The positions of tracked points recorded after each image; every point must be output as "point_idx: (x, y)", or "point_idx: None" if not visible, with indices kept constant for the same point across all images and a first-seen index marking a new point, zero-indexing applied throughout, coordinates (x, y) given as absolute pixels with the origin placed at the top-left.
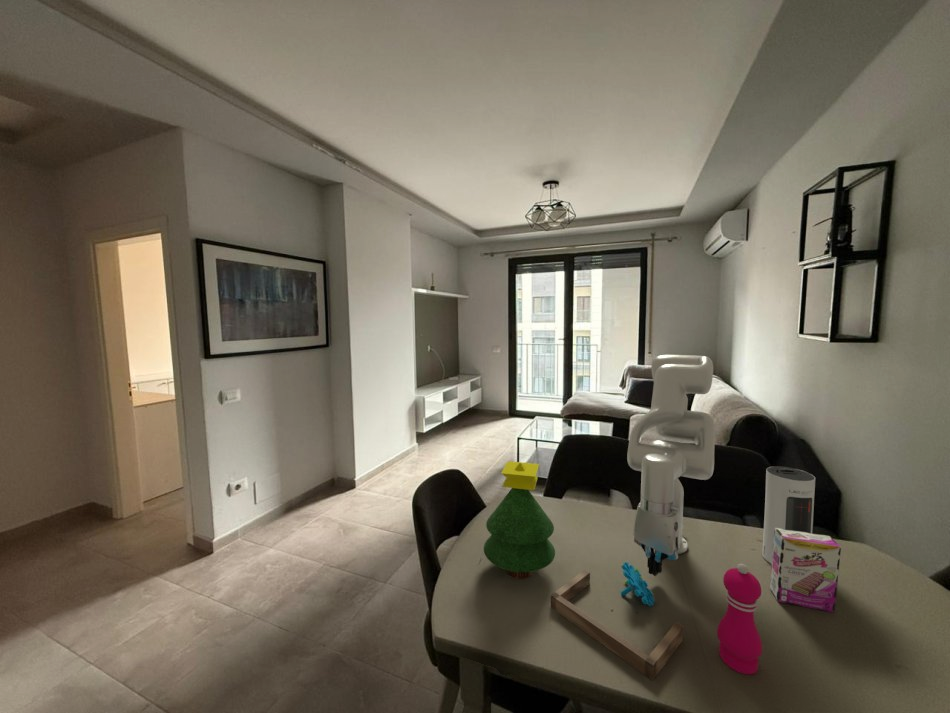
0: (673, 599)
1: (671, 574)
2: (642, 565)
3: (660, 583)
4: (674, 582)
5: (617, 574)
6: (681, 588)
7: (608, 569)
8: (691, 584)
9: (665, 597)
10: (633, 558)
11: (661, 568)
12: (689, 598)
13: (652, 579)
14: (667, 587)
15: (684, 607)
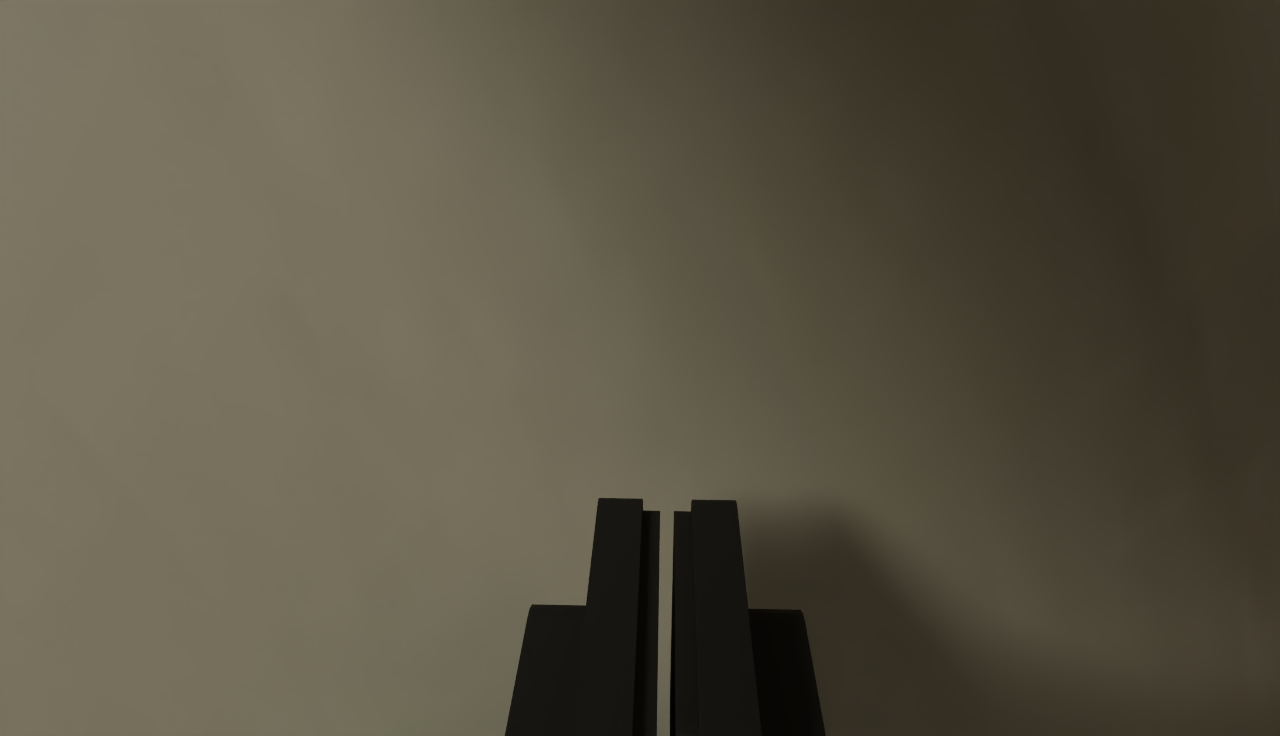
0: (1032, 618)
1: (812, 3)
2: (268, 176)
3: (753, 427)
4: (936, 220)
5: (194, 687)
6: (1083, 292)
7: (35, 682)
8: (1233, 18)
9: (926, 655)
10: (3, 85)
11: (804, 647)
12: (1242, 438)
13: (611, 427)
14: (879, 439)
15: (1199, 658)
